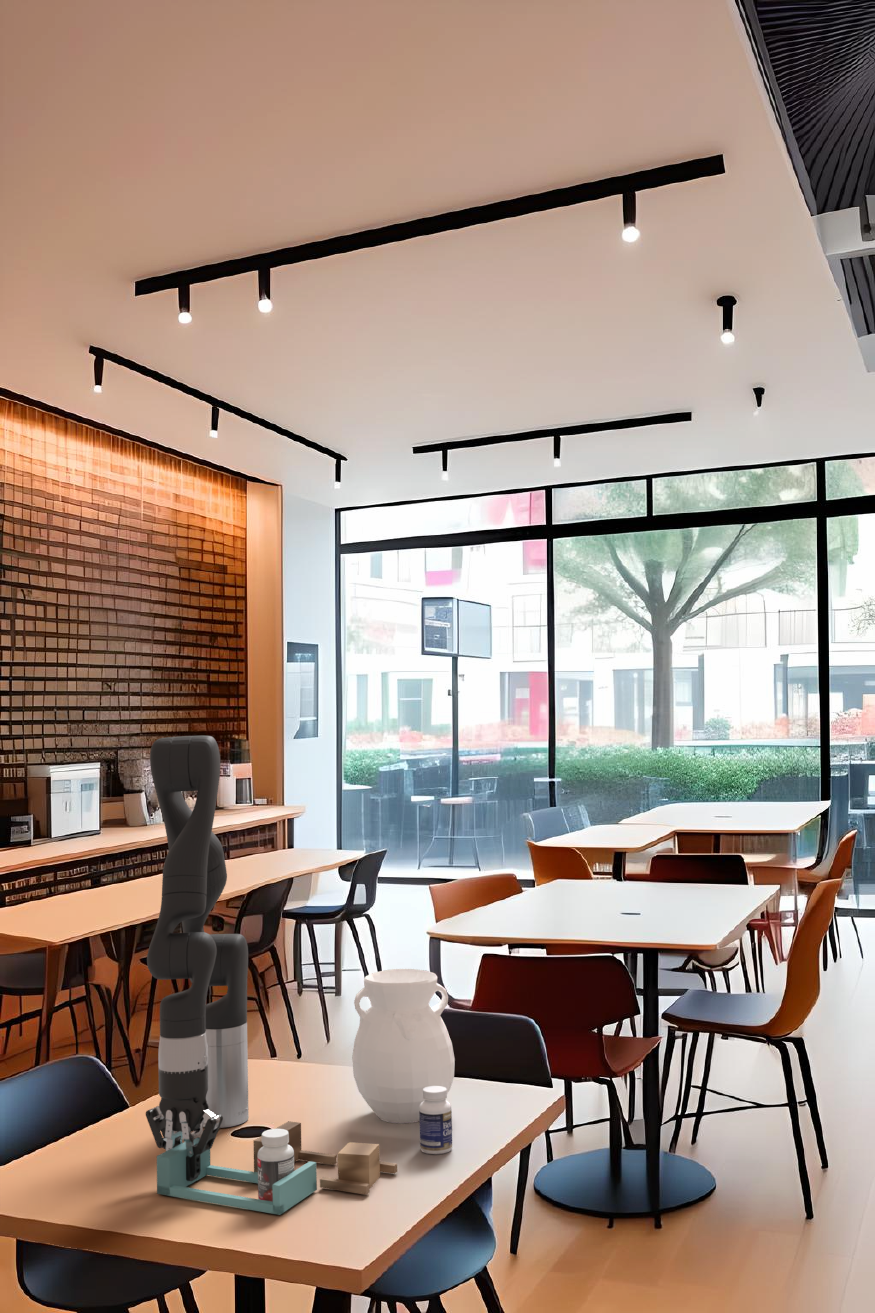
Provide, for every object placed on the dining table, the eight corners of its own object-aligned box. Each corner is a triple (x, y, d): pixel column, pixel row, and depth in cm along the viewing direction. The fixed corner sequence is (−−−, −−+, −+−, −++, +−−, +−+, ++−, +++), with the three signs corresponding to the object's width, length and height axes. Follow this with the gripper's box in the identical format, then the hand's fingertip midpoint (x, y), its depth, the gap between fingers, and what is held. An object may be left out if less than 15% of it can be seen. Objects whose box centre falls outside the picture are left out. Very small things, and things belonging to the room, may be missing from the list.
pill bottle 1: (250, 1202, 168) (249, 1134, 169) (277, 1191, 172) (276, 1124, 173) (275, 1211, 164) (274, 1141, 165) (302, 1199, 169) (301, 1131, 169)
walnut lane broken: (254, 1177, 177) (253, 1140, 178) (289, 1156, 186) (288, 1121, 187) (366, 1194, 169) (365, 1156, 169) (397, 1171, 178) (396, 1135, 178)
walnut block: (338, 1187, 173) (337, 1153, 173) (349, 1175, 178) (348, 1142, 178) (369, 1189, 172) (368, 1155, 172) (380, 1177, 176) (379, 1144, 177)
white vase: (358, 1136, 196) (354, 988, 198) (349, 1104, 214) (346, 969, 216) (464, 1127, 198) (460, 981, 201) (447, 1097, 217) (443, 963, 219)
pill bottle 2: (449, 1156, 185) (447, 1094, 186) (417, 1154, 186) (415, 1093, 187) (455, 1144, 190) (453, 1084, 191) (424, 1143, 191) (422, 1083, 192)
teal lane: (157, 1193, 171) (156, 1156, 172) (198, 1171, 180) (197, 1135, 181) (279, 1215, 162) (279, 1175, 163) (316, 1190, 171) (316, 1152, 172)
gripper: (131, 1065, 177) (132, 1181, 175) (204, 1073, 171) (206, 1193, 169) (163, 1053, 183) (164, 1164, 182) (234, 1061, 177) (236, 1176, 176)
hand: (184, 1177), depth 175 cm, fingers closed on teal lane, 2 cm apart
